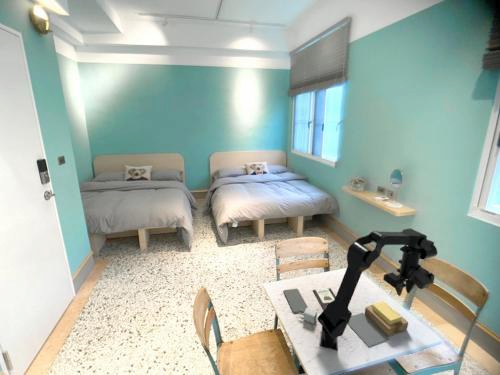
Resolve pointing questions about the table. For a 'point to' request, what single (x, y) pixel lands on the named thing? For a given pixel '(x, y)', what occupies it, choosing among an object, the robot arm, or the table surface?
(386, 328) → the block
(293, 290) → the smartphone
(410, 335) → the table surface
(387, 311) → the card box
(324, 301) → the chocolate bar
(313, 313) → the usb wall charger
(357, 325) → the mat
